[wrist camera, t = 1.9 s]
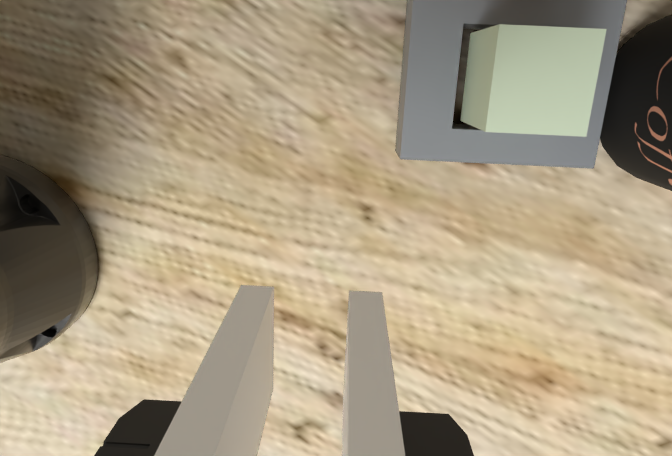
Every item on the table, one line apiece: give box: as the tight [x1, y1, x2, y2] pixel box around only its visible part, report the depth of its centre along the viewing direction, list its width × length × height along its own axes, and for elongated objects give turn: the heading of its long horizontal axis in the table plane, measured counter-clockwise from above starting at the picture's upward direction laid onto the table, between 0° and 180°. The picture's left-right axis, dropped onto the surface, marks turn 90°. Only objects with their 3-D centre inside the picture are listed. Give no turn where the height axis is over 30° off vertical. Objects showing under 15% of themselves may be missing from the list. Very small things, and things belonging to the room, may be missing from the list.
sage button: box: [460, 24, 607, 137], centre depth 27 cm, size 5×5×6 cm
